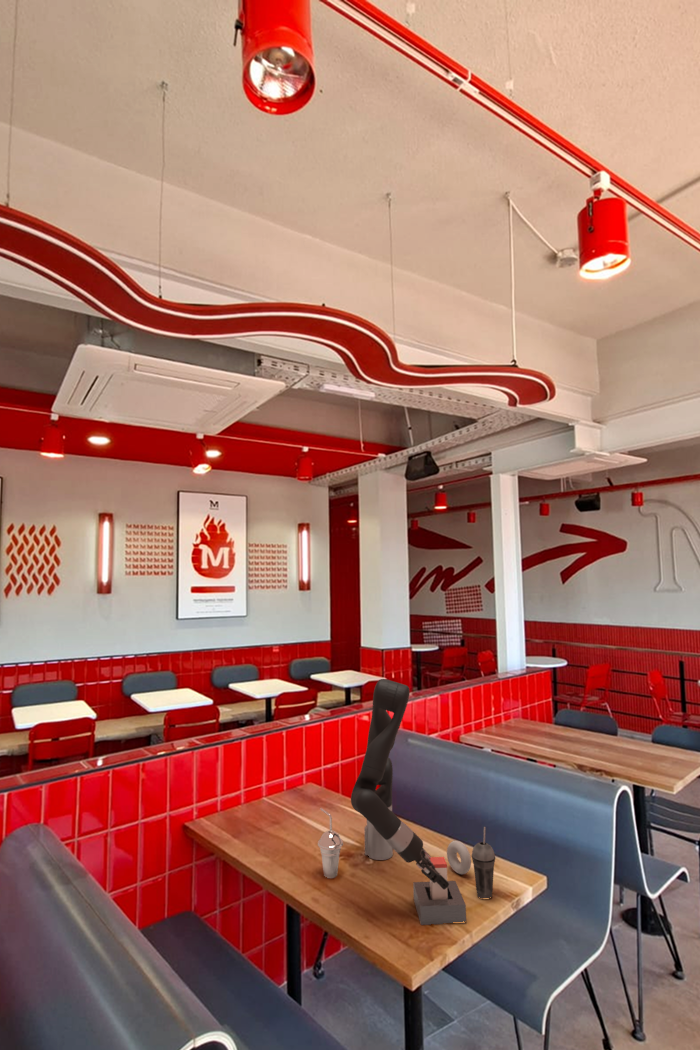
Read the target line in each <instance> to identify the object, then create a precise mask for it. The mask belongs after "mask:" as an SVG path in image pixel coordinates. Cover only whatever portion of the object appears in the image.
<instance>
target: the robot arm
mask: <svg viewBox="0 0 700 1050" xmlns="http://www.w3.org/2000/svg"><path fill="white" fill-rule="evenodd" d="M410 691H411V690H410V687H409V686H408V685H407V684H403V683H401V682H397V681H393V680H390V679H386V678H380V679H379V680H378V681H377V682H376V684H375V686H374V690H373V696H372V708H371V710H372V711H371V712H372V713H371V718H370V724H369V729H368V734H367V735H368V736H367V743H366V750H365V754H364V756H363V757H364V758H363V760H362V765H361V767H360V768H361V769H360V772H359V775H358V777H357V779H356V781H355V784H354V786H353V788H352V792H351V795H350V802H351V807H352V808H353V809H354V810H355V812H358V813H359V814H360V815H362V817H364V818H365V819H366V824H365V826H364V855H365V856H367V855H368V856H369V857H368V856H367V857H368V858H370V859H372V860H377V861H385V860H389V859H390V858H392V857H393V855H394V852H393V851H395V852H396V854H397V855H399V856H400V857H401V858H402V859H403V860H404V862H405V863H408V864H409V863H411V862H414V861H415V862H416V863H415V865H416V866H417V867H418V869H420V871H421V874H423V875H424V876H426V878H427V879H429V881H430V880H431V881H432V882H433V883H435V882H437V883H438V884H439V885H440V886H441V887H442V888H443V889H446V888H447V887H448V886H449V883H448V882H447V881H448V880H447V881H446V880H445V879H444V878H443V877H442V876H441V875H440V873H439V872H438V871H437V870H436V869H435V866H434V865H433V863H432V862H431V861H430V858H431V857H432V856H431V855H430V854H429V853H428V852H427V851H426V849H425V848H423V847H424V842H423V839H421V837H420V836H418V835H417V834H416V832H414V831H413V830H412V829H411V828H410V827H409V825H407V824H406V823H405V822H404V821H402V820H401V819H400V818H399V817H398V815H396V813H394V812H393V777H394V776H393V775H394V773H393V771H394V770H393V769H394V767H393V763H392V762H393V761H392V760H391V758H390V753H391V751H392V750H393V748H394V745H395V743H396V737H397V734H398V731H399V729H400V726H401V724H402V721H403V718H404V716H405V712H406V709H407V706H408V702H409V699H410V693H411V692H410ZM388 712H391V713H393V715H392V718H391V716H390V714H389V713H388ZM377 786H379V787H378V788H377ZM431 865H432V867H430V866H431ZM434 874H435V875H434ZM433 875H434V876H433Z"/></svg>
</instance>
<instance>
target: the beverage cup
mask: <svg viewBox="0 0 700 1050" xmlns="http://www.w3.org/2000/svg"><path fill="white" fill-rule="evenodd" d="M471 858H472V859H471V861H472V864H473V871H474V872H473V873H474V881H475V891H476V896H477V897H478V898H479V897H480V898H490V897H493V889H494V870H495V869H494V867H495V862H496V855H495V851H494V848H493V847H492V845H490V844H489V843H487V842H486V826H483V841H480V842H477V843H476V844H475V845H474V846H473V848H472V851H471ZM480 898H479V899H480Z"/></svg>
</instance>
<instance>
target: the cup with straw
mask: <svg viewBox="0 0 700 1050" xmlns="http://www.w3.org/2000/svg"><path fill="white" fill-rule="evenodd" d="M319 810H320V811H321V812H323V813H325V814H326V815H327V816H328V817H329V830H327V831H325V832H323V833H322V835H321V836H320V839H319V840H318V841H317V847H318V848H320V849H319V850H320V854H321V862H322V871H323V877H324V876H325V877H324V878H326V877H327V878H326V879H335V878H337V876H338V871H339V864H340V853H341V849H342V847H343V845H344V841H343V839H342V838H341V837H340V835H339V833H338V831H337V832H336V831H335V830H333V821H332V819H333V818H332V814H331V813H330V812H328V811H326V809H324V808H323V807H320V808H319Z"/></svg>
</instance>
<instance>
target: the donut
mask: <svg viewBox="0 0 700 1050" xmlns="http://www.w3.org/2000/svg"><path fill="white" fill-rule="evenodd" d="M458 855H459V857H460V860H459V858H458ZM471 858H472V856H471V853H470V851H469V849H468V847H467V846H466V845H465V844H464V843H463V842H462V841H460V840H452V841H451V842H449V844H448V846H447V849H446V859H447V861H448V864H449V866H450V868H451V869H452V870H453V871H454V872H455V873H457V874H459V875H466V874H467V873H468V872H469V871H470V870H471V866H472V859H471Z"/></svg>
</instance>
